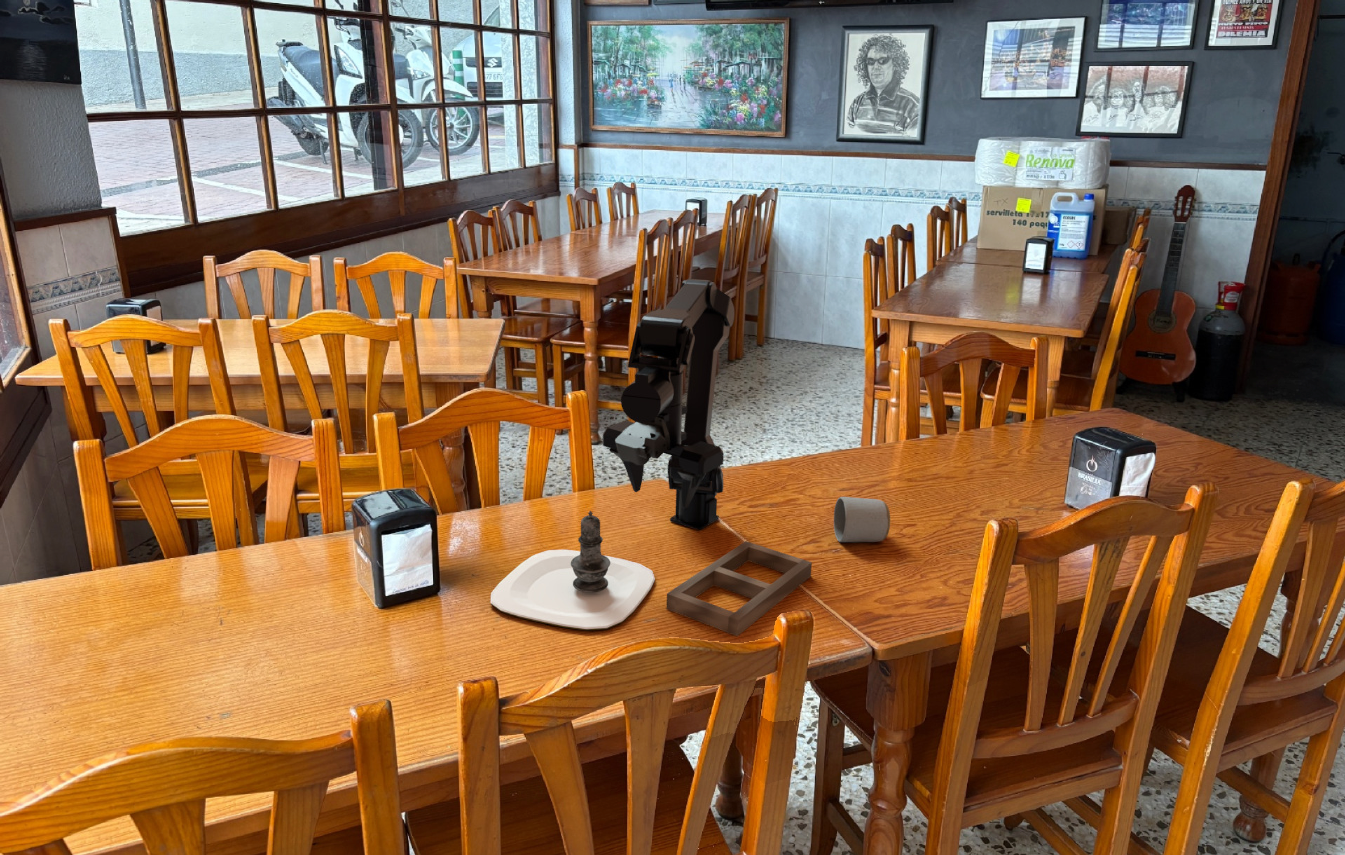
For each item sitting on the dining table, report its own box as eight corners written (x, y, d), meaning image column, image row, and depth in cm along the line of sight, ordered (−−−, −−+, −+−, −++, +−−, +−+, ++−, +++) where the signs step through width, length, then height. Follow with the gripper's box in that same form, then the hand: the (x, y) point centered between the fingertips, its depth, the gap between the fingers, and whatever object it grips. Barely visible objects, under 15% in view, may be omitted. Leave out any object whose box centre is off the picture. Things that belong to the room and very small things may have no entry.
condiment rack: (666, 608, 133) (666, 593, 132) (744, 554, 150) (745, 541, 149) (737, 636, 127) (737, 620, 126) (810, 576, 144) (811, 562, 143)
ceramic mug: (890, 548, 154) (894, 506, 152) (842, 549, 153) (846, 507, 151) (871, 523, 164) (875, 483, 162) (826, 524, 163) (829, 483, 161)
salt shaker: (588, 570, 141) (588, 499, 137) (618, 582, 138) (619, 509, 134) (562, 585, 137) (561, 511, 133) (592, 598, 134) (592, 523, 130)
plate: (666, 576, 144) (667, 566, 144) (613, 646, 125) (613, 635, 124) (542, 552, 151) (542, 542, 150) (473, 615, 131) (472, 604, 131)
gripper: (577, 401, 133) (578, 499, 138) (681, 429, 123) (678, 535, 128) (626, 384, 141) (625, 477, 147) (727, 409, 131) (723, 509, 136)
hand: (660, 499), depth 139 cm, fingers open, 9 cm apart
